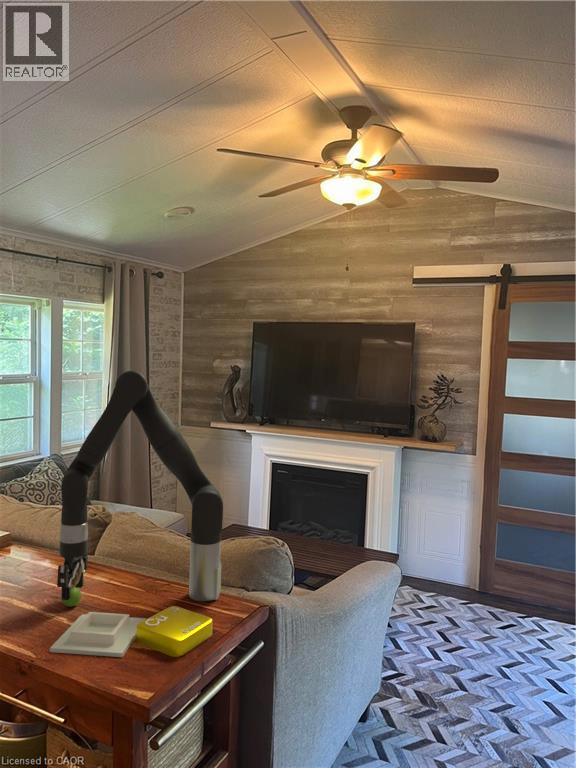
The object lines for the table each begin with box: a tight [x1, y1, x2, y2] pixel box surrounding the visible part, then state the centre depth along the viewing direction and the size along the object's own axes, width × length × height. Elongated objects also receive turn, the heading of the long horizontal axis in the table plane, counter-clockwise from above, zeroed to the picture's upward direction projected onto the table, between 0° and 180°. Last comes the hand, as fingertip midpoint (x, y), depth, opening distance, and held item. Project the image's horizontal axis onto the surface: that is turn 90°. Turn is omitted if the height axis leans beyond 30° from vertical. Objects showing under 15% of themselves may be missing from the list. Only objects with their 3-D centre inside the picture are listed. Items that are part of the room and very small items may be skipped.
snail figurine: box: [60, 567, 82, 608], centre depth 158 cm, size 5×6×12 cm
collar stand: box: [49, 611, 147, 658], centre depth 141 cm, size 18×18×4 cm
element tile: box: [135, 605, 214, 658], centre depth 142 cm, size 15×15×5 cm
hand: (72, 593), depth 158 cm, fingers open, 8 cm apart
